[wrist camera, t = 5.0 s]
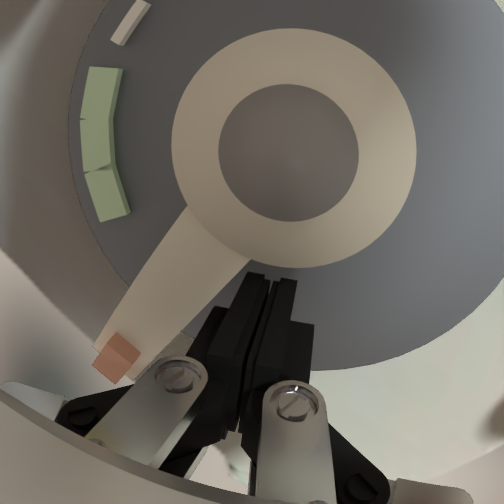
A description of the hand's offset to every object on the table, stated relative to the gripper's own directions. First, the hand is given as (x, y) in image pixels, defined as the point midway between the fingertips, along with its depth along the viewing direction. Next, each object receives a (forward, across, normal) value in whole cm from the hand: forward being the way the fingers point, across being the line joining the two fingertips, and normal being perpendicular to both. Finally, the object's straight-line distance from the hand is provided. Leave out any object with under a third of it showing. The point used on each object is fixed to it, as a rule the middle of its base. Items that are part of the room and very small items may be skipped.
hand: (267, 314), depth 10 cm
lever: (+1, +2, -3) cm, 3 cm away
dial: (+3, 0, -6) cm, 6 cm away
